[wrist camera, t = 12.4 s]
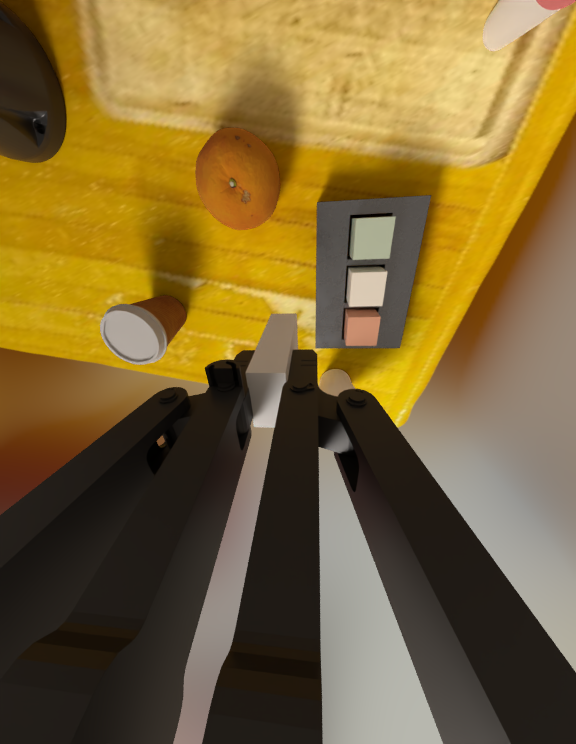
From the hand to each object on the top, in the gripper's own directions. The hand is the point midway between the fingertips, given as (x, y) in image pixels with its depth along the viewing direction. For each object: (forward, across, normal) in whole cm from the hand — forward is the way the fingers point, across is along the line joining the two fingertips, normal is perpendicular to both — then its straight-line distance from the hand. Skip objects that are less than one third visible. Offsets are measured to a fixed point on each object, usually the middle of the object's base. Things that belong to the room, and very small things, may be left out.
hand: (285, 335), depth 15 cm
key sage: (+27, +9, +3) cm, 29 cm away
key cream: (+27, +9, -3) cm, 29 cm away
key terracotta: (+27, +9, -9) cm, 30 cm away
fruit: (+30, -8, +10) cm, 32 cm away
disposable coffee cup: (+30, -25, -8) cm, 40 cm away
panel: (+29, +9, -3) cm, 31 cm away
